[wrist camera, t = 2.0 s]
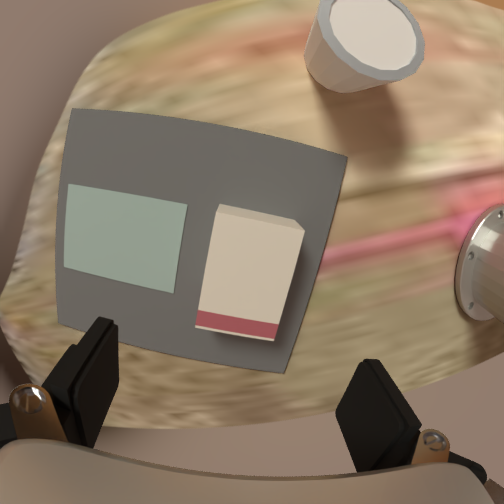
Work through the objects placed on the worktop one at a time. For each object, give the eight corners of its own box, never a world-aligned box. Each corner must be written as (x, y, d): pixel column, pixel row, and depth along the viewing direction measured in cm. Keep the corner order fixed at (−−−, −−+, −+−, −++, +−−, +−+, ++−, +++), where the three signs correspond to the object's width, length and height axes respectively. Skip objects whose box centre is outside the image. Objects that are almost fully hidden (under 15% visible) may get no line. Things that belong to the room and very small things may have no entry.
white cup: (335, 10, 18) (366, -32, 11) (395, 70, 19) (443, 47, 13) (276, 53, 19) (291, 13, 12) (341, 118, 21) (382, 103, 14)
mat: (345, 156, 21) (348, 156, 21) (283, 370, 26) (283, 373, 26) (74, 109, 19) (71, 108, 19) (60, 321, 24) (57, 323, 24)
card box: (219, 203, 22) (215, 211, 18) (294, 219, 22) (305, 230, 19) (200, 304, 24) (195, 327, 20) (269, 316, 24) (273, 341, 21)
